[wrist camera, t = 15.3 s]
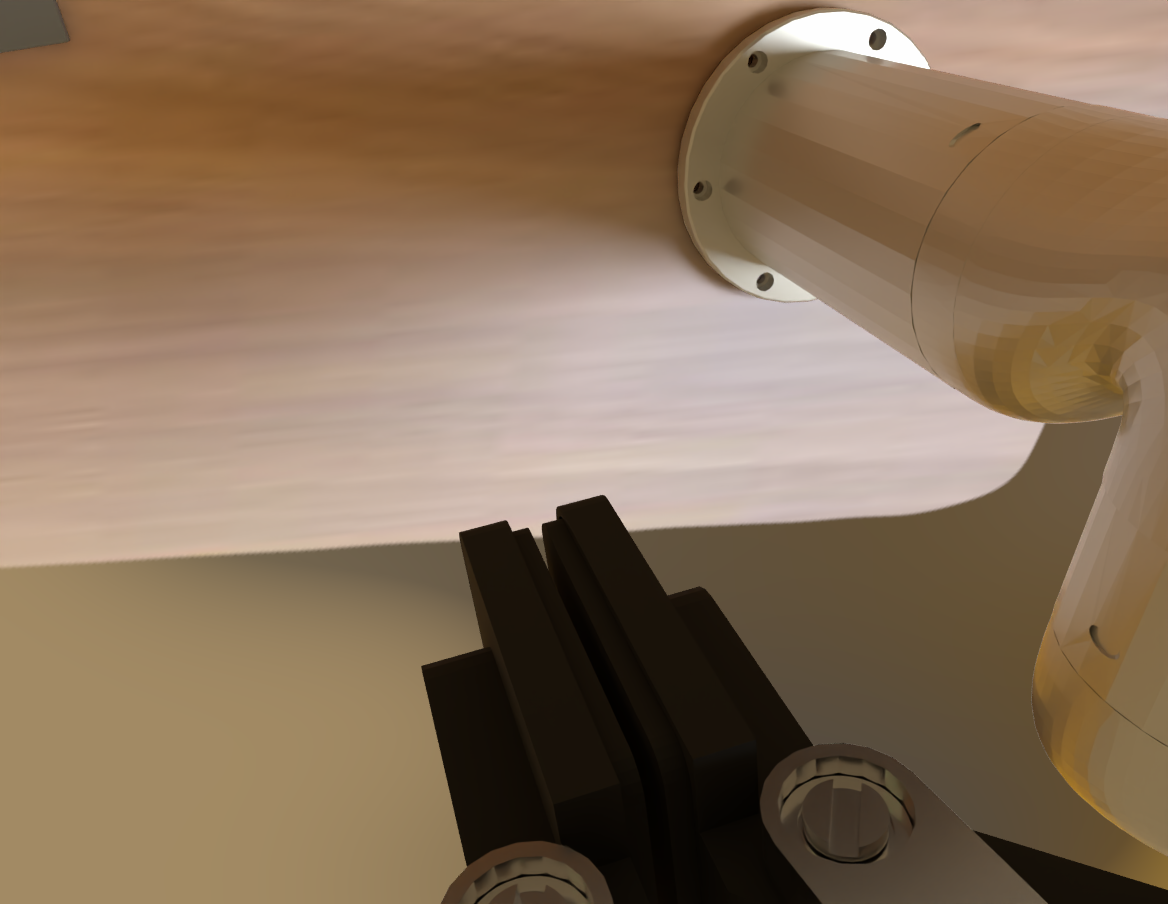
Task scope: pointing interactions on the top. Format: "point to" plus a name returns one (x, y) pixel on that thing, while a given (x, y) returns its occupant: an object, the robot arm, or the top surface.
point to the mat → (30, 24)
